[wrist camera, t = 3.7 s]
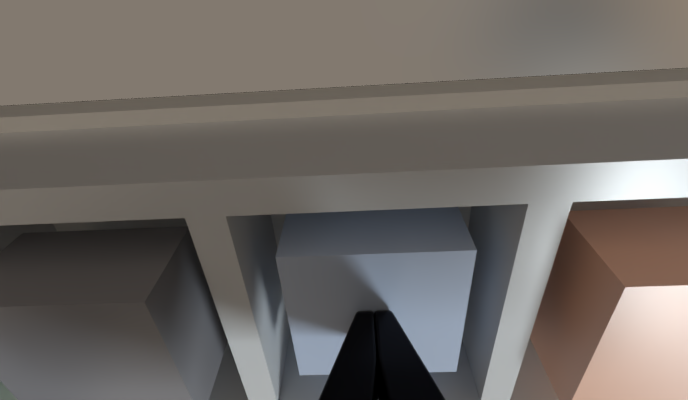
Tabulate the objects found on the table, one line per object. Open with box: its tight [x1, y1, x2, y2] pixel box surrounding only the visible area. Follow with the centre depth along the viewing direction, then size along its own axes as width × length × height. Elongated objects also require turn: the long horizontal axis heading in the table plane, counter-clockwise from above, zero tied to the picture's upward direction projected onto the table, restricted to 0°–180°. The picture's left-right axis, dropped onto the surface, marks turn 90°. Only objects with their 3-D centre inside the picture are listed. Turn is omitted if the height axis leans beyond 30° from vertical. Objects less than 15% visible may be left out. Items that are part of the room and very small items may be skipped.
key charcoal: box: [0, 226, 228, 400], centre depth 9 cm, size 4×4×2 cm
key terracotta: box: [530, 206, 688, 400], centre depth 9 cm, size 4×4×2 cm
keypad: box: [0, 68, 688, 400], centre depth 11 cm, size 27×9×4 cm, turn 93°
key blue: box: [275, 207, 477, 375], centre depth 10 cm, size 4×4×2 cm
